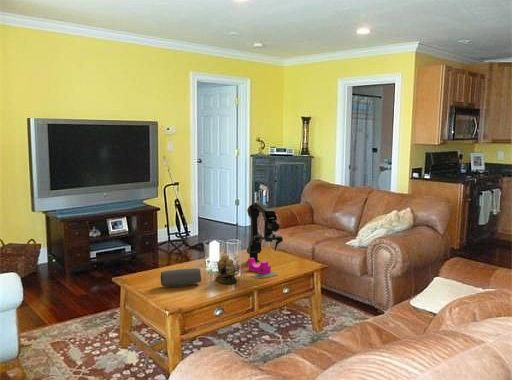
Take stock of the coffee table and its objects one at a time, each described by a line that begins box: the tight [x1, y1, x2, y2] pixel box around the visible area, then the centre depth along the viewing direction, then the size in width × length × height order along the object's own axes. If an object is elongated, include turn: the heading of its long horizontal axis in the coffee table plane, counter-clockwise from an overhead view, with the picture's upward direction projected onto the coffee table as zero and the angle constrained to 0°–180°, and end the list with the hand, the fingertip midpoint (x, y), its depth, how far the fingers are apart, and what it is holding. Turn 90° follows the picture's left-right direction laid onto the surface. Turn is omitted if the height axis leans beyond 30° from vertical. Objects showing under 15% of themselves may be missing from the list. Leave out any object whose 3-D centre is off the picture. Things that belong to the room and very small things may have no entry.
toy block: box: [247, 257, 272, 274], centre depth 297 cm, size 15×6×8 cm, turn 43°
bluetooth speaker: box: [160, 268, 202, 288], centre depth 266 cm, size 23×9×10 cm, turn 110°
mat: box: [251, 271, 279, 280], centre depth 288 cm, size 7×16×1 cm, turn 120°
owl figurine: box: [215, 254, 238, 286], centre depth 276 cm, size 18×12×17 cm, turn 35°
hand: (267, 251), depth 297 cm, fingers open, 9 cm apart
